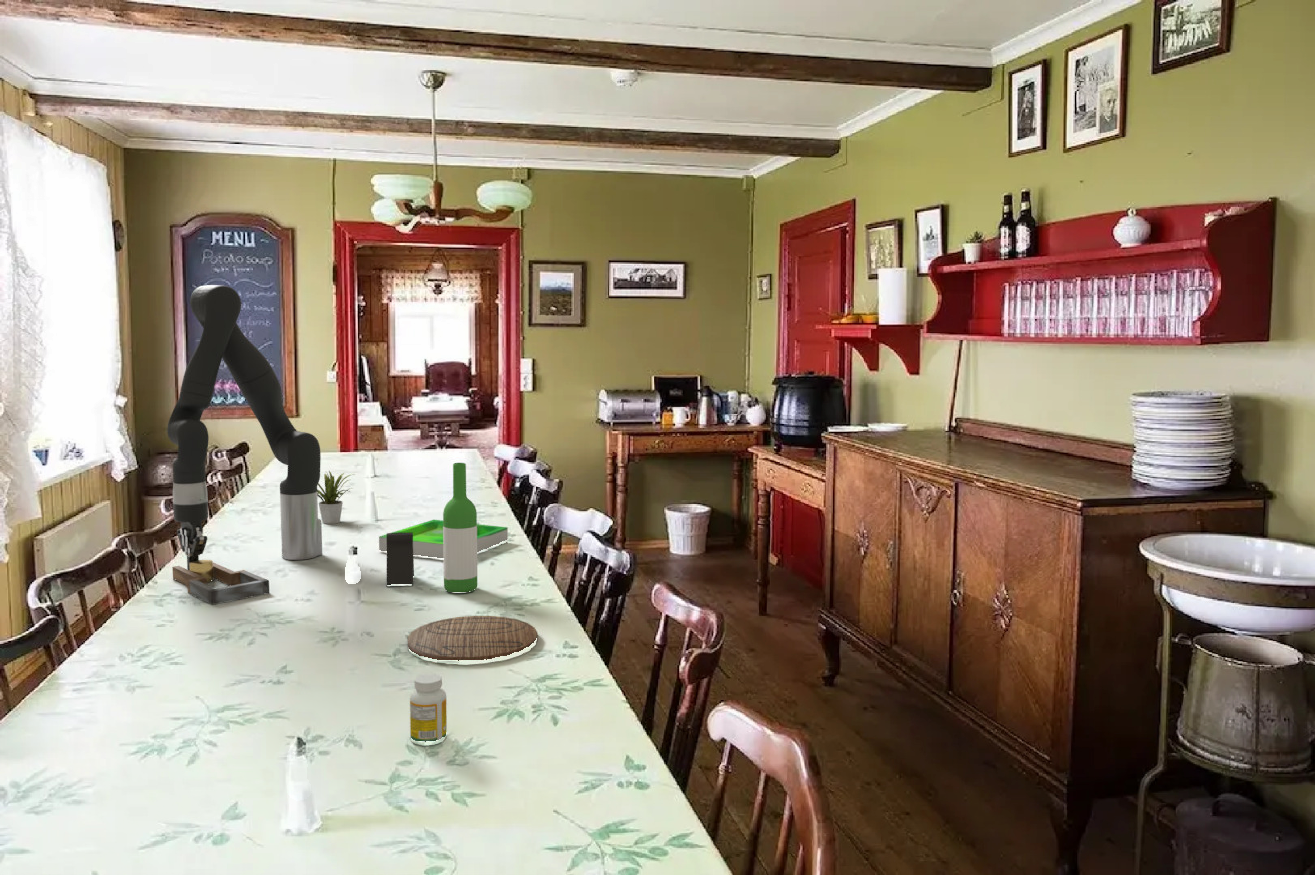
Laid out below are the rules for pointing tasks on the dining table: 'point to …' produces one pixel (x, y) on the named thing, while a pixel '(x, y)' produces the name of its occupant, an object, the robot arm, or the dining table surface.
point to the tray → (431, 538)
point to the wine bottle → (460, 537)
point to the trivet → (471, 638)
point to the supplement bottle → (428, 709)
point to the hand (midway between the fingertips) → (193, 570)
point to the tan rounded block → (203, 568)
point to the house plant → (331, 499)
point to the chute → (239, 580)
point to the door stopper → (400, 558)
